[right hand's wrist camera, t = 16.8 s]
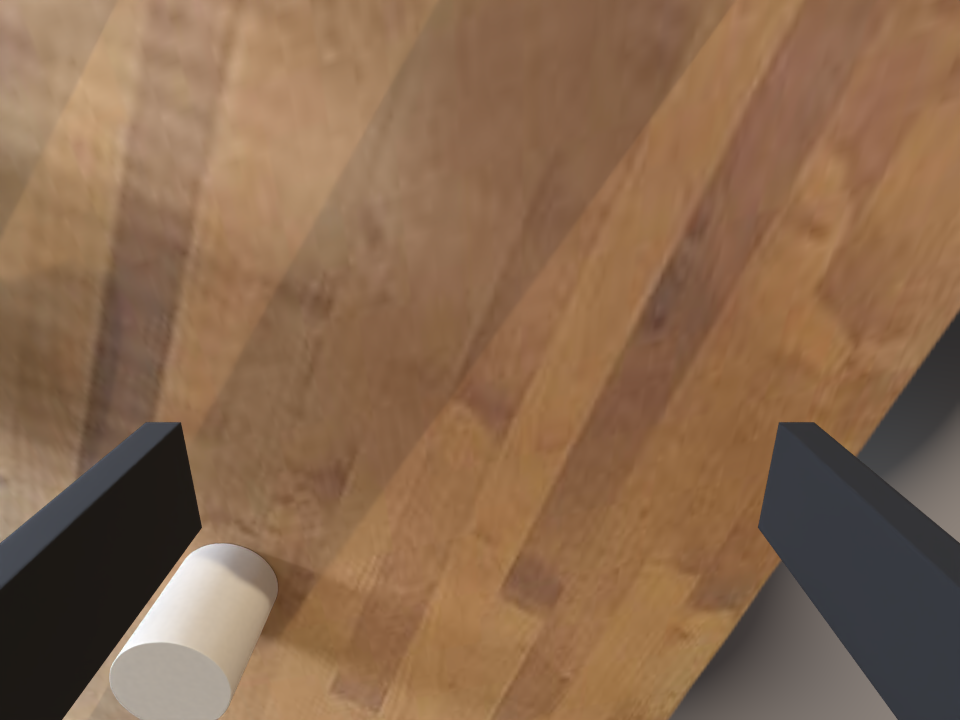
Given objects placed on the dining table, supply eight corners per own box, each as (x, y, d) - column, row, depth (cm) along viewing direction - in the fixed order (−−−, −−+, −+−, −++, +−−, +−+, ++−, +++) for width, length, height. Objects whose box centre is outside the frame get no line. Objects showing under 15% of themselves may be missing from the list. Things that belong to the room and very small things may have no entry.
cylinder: (297, 598, 49) (255, 705, 40) (220, 633, 50) (162, 744, 41) (239, 528, 46) (179, 624, 37) (159, 567, 48) (83, 669, 38)
